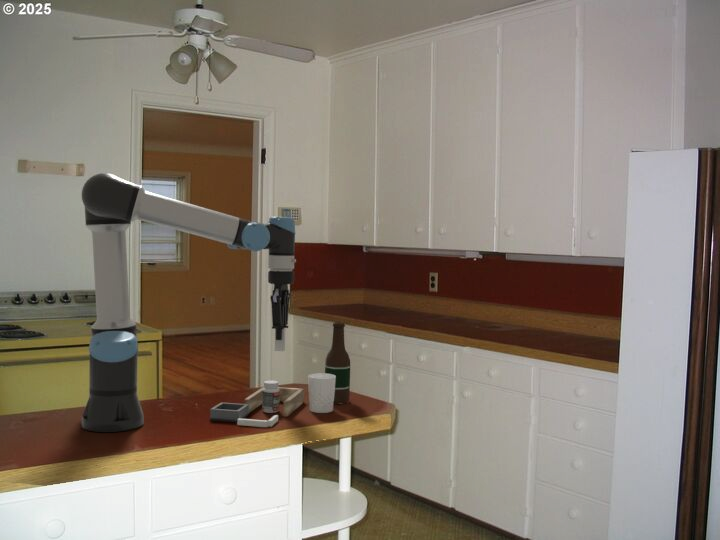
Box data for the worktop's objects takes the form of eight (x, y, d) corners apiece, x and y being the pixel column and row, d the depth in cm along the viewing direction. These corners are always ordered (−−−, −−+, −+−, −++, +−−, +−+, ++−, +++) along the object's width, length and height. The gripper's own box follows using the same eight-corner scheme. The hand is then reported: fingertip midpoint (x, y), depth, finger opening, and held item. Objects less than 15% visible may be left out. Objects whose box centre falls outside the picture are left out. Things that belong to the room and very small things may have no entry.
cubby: (244, 413, 203) (244, 399, 202) (263, 399, 220) (264, 386, 220) (287, 416, 201) (287, 402, 200) (303, 402, 218) (303, 388, 218)
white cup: (340, 409, 210) (341, 375, 209) (324, 415, 203) (325, 379, 203) (318, 405, 214) (318, 372, 214) (301, 410, 208) (302, 376, 207)
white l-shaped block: (237, 425, 191) (237, 419, 191) (246, 418, 197) (246, 412, 197) (270, 427, 189) (270, 421, 189) (278, 420, 196) (278, 415, 196)
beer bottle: (321, 403, 217) (323, 323, 216) (326, 397, 225) (328, 320, 223) (346, 405, 216) (349, 324, 214) (351, 399, 223) (353, 321, 222)
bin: (210, 420, 195) (210, 409, 194) (220, 413, 202) (221, 402, 202) (238, 422, 193) (238, 411, 193) (248, 415, 201) (248, 404, 201)
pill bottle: (276, 413, 203) (276, 384, 203) (259, 412, 204) (260, 383, 204) (281, 409, 208) (281, 380, 208) (265, 408, 209) (266, 379, 208)
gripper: (287, 271, 204) (286, 355, 206) (299, 269, 217) (298, 347, 218) (261, 270, 206) (260, 353, 207) (275, 268, 218) (273, 346, 220)
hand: (279, 350), depth 213 cm, fingers closed
